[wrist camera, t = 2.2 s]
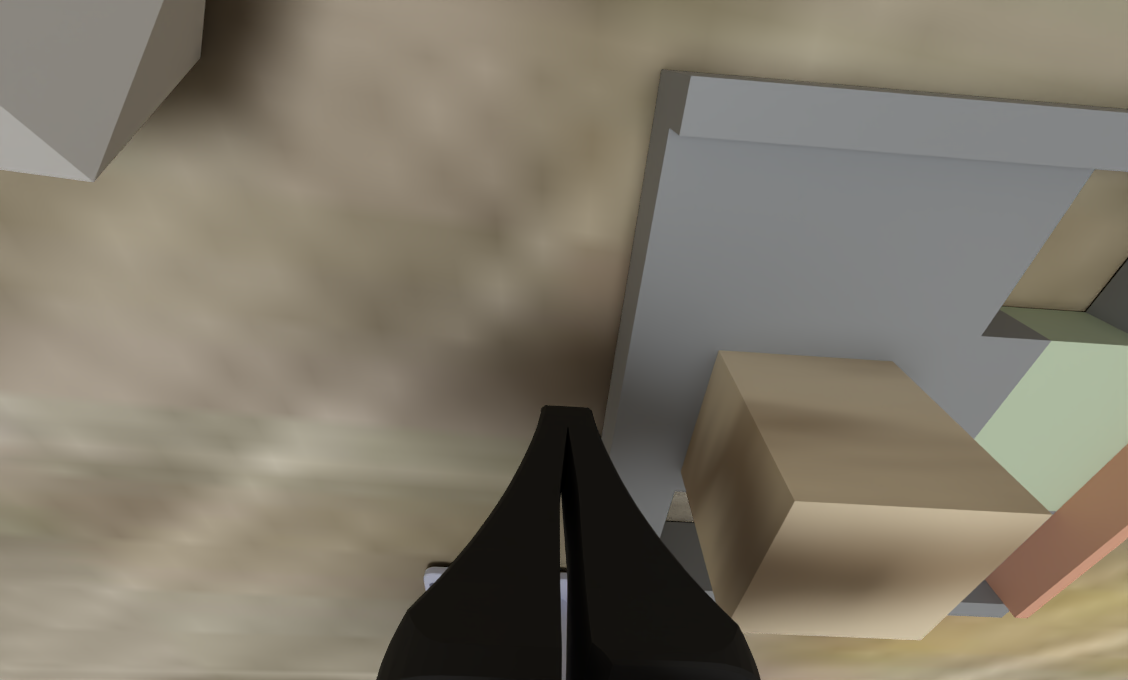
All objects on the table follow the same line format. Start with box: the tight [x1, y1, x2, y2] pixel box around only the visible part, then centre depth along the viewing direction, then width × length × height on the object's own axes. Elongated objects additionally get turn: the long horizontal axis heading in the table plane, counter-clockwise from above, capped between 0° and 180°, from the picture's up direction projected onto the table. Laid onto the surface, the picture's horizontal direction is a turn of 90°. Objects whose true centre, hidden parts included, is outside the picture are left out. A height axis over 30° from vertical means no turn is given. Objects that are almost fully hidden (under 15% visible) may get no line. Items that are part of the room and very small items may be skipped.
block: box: [681, 350, 1052, 640], centre depth 12 cm, size 5×5×5 cm
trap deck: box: [601, 69, 1128, 618], centre depth 14 cm, size 18×17×4 cm
